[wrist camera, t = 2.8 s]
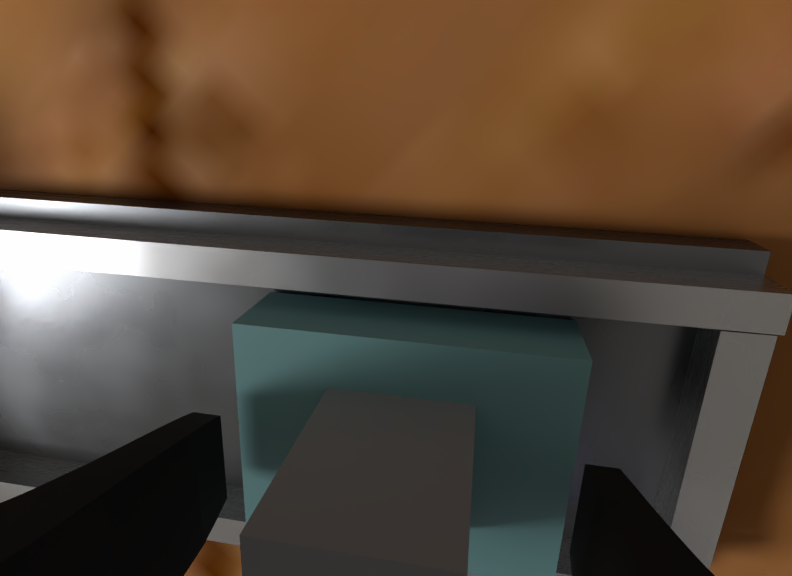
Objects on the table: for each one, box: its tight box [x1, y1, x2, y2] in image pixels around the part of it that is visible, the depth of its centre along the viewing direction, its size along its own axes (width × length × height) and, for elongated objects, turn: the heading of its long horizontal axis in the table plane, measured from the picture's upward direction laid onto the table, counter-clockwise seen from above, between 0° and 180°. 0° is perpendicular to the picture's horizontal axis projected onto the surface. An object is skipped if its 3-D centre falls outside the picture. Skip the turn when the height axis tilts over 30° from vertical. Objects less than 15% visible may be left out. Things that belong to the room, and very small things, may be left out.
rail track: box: [0, 190, 792, 576], centre depth 13 cm, size 22×9×2 cm, turn 88°
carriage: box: [232, 292, 592, 576], centre depth 10 cm, size 7×5×6 cm
